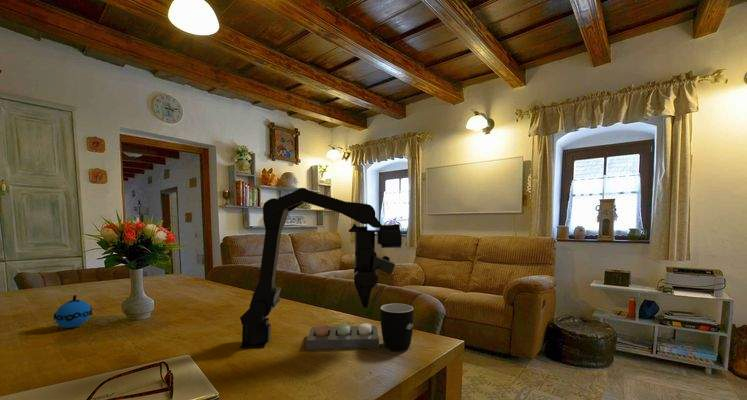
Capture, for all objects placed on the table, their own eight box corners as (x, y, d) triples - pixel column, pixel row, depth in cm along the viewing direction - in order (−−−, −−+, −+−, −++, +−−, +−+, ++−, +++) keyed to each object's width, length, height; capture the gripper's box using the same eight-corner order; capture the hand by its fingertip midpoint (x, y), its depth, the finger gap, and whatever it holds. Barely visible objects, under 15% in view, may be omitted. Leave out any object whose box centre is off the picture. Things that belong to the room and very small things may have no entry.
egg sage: (336, 338, 84) (336, 328, 84) (337, 334, 88) (337, 324, 88) (349, 338, 85) (350, 327, 85) (350, 333, 88) (350, 323, 88)
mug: (409, 355, 77) (409, 313, 78) (375, 350, 80) (375, 310, 81) (419, 338, 88) (418, 302, 89) (388, 335, 91) (388, 299, 92)
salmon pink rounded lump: (314, 339, 84) (314, 328, 84) (316, 334, 88) (316, 324, 88) (327, 339, 84) (327, 328, 84) (328, 334, 88) (329, 324, 88)
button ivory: (358, 338, 85) (358, 327, 85) (358, 333, 88) (358, 323, 88) (371, 338, 85) (371, 327, 85) (371, 333, 88) (371, 323, 89)
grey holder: (379, 348, 82) (379, 338, 82) (306, 349, 80) (306, 340, 80) (376, 334, 92) (376, 325, 92) (311, 335, 91) (311, 327, 91)
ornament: (88, 328, 97) (90, 296, 97) (49, 334, 92) (51, 299, 92) (92, 321, 104) (95, 291, 104) (57, 326, 99) (59, 294, 100)
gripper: (397, 250, 80) (397, 312, 78) (389, 245, 98) (389, 295, 97) (354, 251, 79) (353, 313, 78) (354, 245, 98) (353, 296, 96)
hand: (364, 303), depth 87 cm, fingers open, 8 cm apart
